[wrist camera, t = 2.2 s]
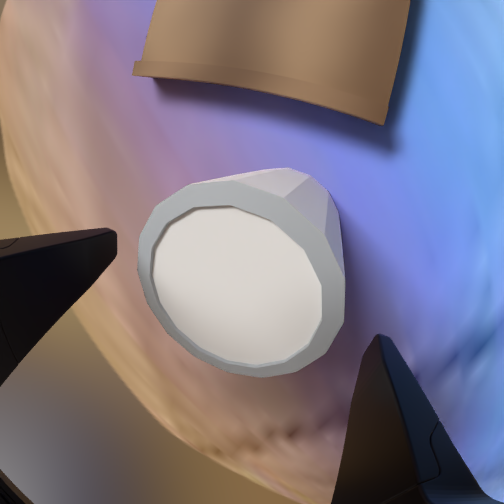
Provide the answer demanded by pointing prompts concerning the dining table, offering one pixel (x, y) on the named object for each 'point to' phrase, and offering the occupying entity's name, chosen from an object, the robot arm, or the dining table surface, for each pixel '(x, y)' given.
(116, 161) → the dining table surface
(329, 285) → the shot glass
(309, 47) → the serving board
